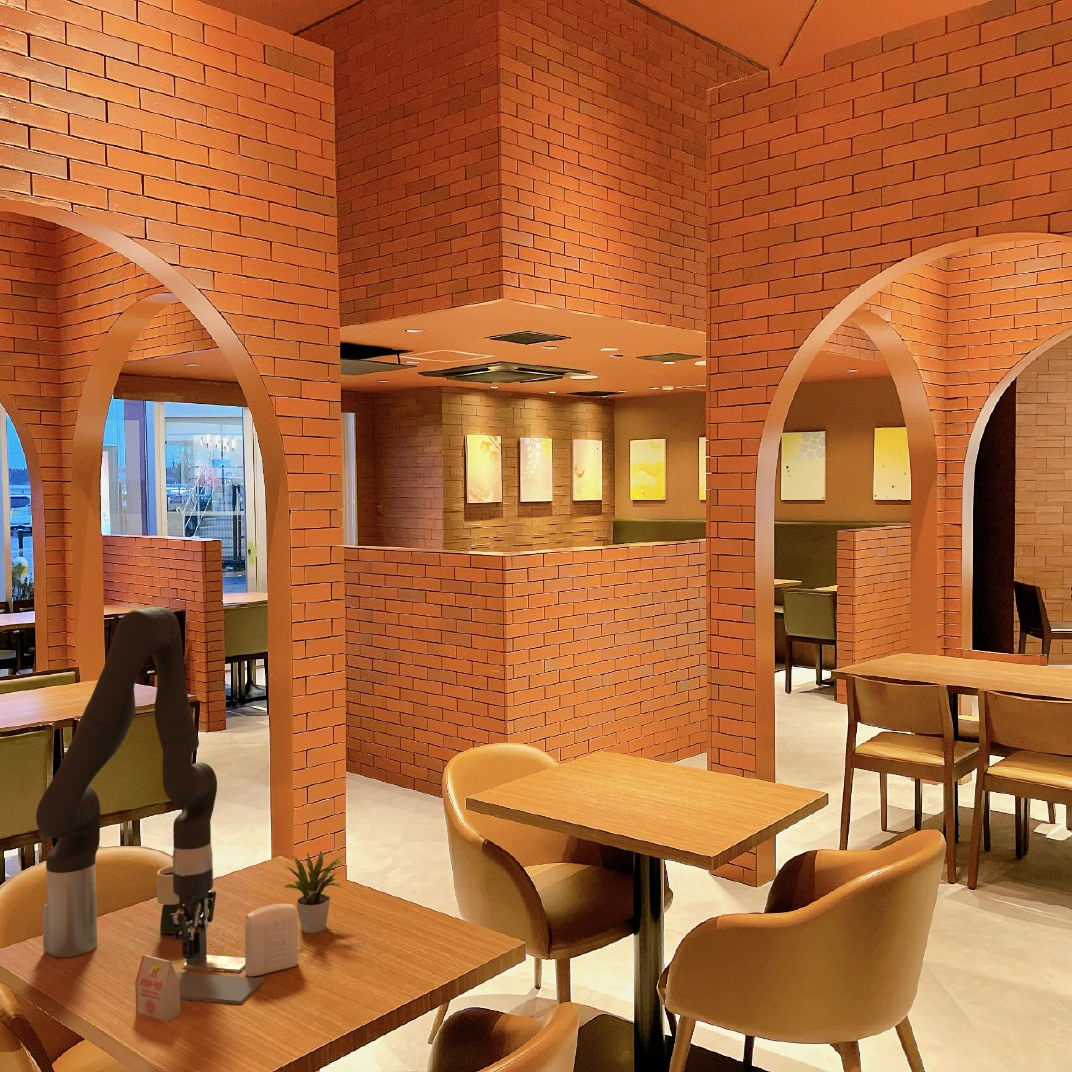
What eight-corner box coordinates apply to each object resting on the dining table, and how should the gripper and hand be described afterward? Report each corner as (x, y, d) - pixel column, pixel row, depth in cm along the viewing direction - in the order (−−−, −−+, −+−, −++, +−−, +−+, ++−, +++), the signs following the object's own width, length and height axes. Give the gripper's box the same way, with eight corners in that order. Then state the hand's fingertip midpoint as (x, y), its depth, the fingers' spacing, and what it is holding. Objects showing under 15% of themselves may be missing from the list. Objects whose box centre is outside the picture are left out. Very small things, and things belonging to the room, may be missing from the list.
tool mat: (150, 996, 186) (150, 993, 186) (177, 974, 195) (177, 971, 195) (241, 1004, 182) (241, 1000, 182) (263, 981, 191) (263, 978, 191)
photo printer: (293, 958, 201) (292, 896, 201) (301, 966, 198) (300, 903, 198) (242, 971, 196) (241, 908, 195) (249, 980, 192) (248, 915, 192)
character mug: (203, 932, 215) (202, 871, 215) (171, 942, 210) (170, 880, 209) (179, 919, 222) (178, 860, 222) (148, 928, 217) (146, 868, 217)
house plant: (351, 939, 210) (350, 861, 210) (283, 947, 206) (281, 868, 206) (347, 914, 224) (346, 840, 223) (283, 921, 220) (281, 846, 220)
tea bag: (152, 1005, 182) (151, 950, 182) (179, 1013, 179) (178, 957, 179) (136, 1014, 179) (134, 958, 179) (163, 1022, 176) (162, 965, 176)
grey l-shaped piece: (182, 969, 198) (182, 934, 198) (196, 958, 203) (195, 924, 202) (239, 973, 195) (238, 938, 195) (251, 962, 200) (251, 928, 200)
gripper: (194, 854, 207) (196, 937, 208) (155, 878, 193) (157, 967, 194) (228, 855, 206) (229, 939, 206) (191, 880, 192) (192, 970, 192)
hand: (194, 952), depth 200 cm, fingers open, 4 cm apart
